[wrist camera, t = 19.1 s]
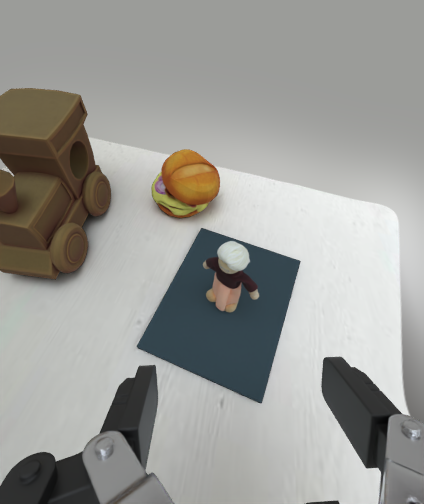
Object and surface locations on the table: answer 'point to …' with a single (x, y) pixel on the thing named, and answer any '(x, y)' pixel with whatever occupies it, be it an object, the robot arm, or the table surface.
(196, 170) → the cheeseburger
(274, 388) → the table surface
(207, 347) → the mat
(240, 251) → the grandmother figurine
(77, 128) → the wooden toy train
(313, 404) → the table surface
